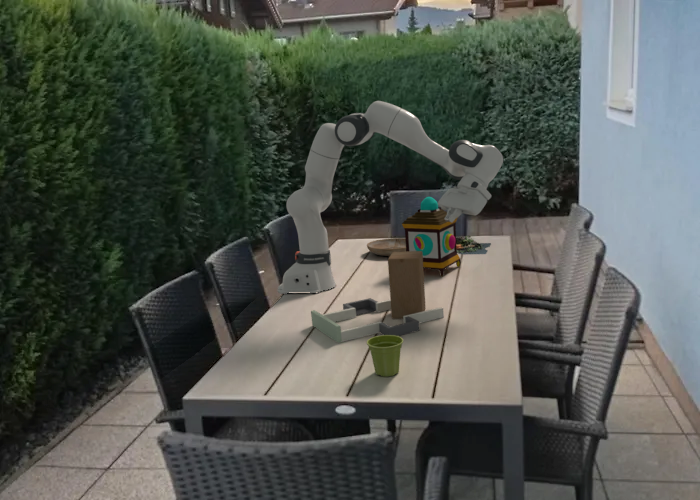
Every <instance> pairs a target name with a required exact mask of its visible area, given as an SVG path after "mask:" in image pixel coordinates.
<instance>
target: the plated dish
mask: <svg viewBox="0 0 700 500" xmlns="http://www.w3.org/2000/svg"><path fill="white" fill-rule="evenodd" d="M471 237H472V235H465V237H464V236H458V237H457V236H456V248H457V254H458V255H486V254H487V253H488V249H487V248H490V247H491V245H492V243H491V242H477V241H476V240H474V239H472V238H471Z"/></svg>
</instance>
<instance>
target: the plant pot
mask: <svg viewBox="0 0 700 500" xmlns="http://www.w3.org/2000/svg"><path fill="white" fill-rule="evenodd" d="M403 343H404V338H402V337H401V336H395V335H383V334H381V335H376V336H373V337H371V338H368V339H367V341H366V345H367V347H368V349H369V351H370V354H371V358H372V364H373V369H374V372H375V375H377V376H379V375H380V376H381V377H385V378H386V377H393V376H395V375H396V374H398V373H399V372H400V360H401V348H402V345H403Z"/></svg>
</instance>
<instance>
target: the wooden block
mask: <svg viewBox="0 0 700 500" xmlns="http://www.w3.org/2000/svg"><path fill="white" fill-rule="evenodd" d="M387 267H388V268H387V269H388V270H387V271H388V280H389V281H388V283H389V296H390V299H391V309H390V310H391V319H393V320H401V319H402V320H403V316H406V315H410V314H415V313H419V312H423V311H426V294H425V289H426V288H425V273H424V269H423V253H422V251H405V252H392V254H391V255H390V256H388V259H387ZM390 299H389V300H390Z"/></svg>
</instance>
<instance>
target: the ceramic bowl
mask: <svg viewBox="0 0 700 500" xmlns="http://www.w3.org/2000/svg"><path fill="white" fill-rule="evenodd" d="M366 248H367V249H368V251H370V252H371V253H373V254H375V255H377V256H383V257H390V255H391V254H392V252H405V251H406V240H405V238H400V237H395V238H394V237H393V238H383V239H377V240H373V241H370V242H368V243H367V244H366Z"/></svg>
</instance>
